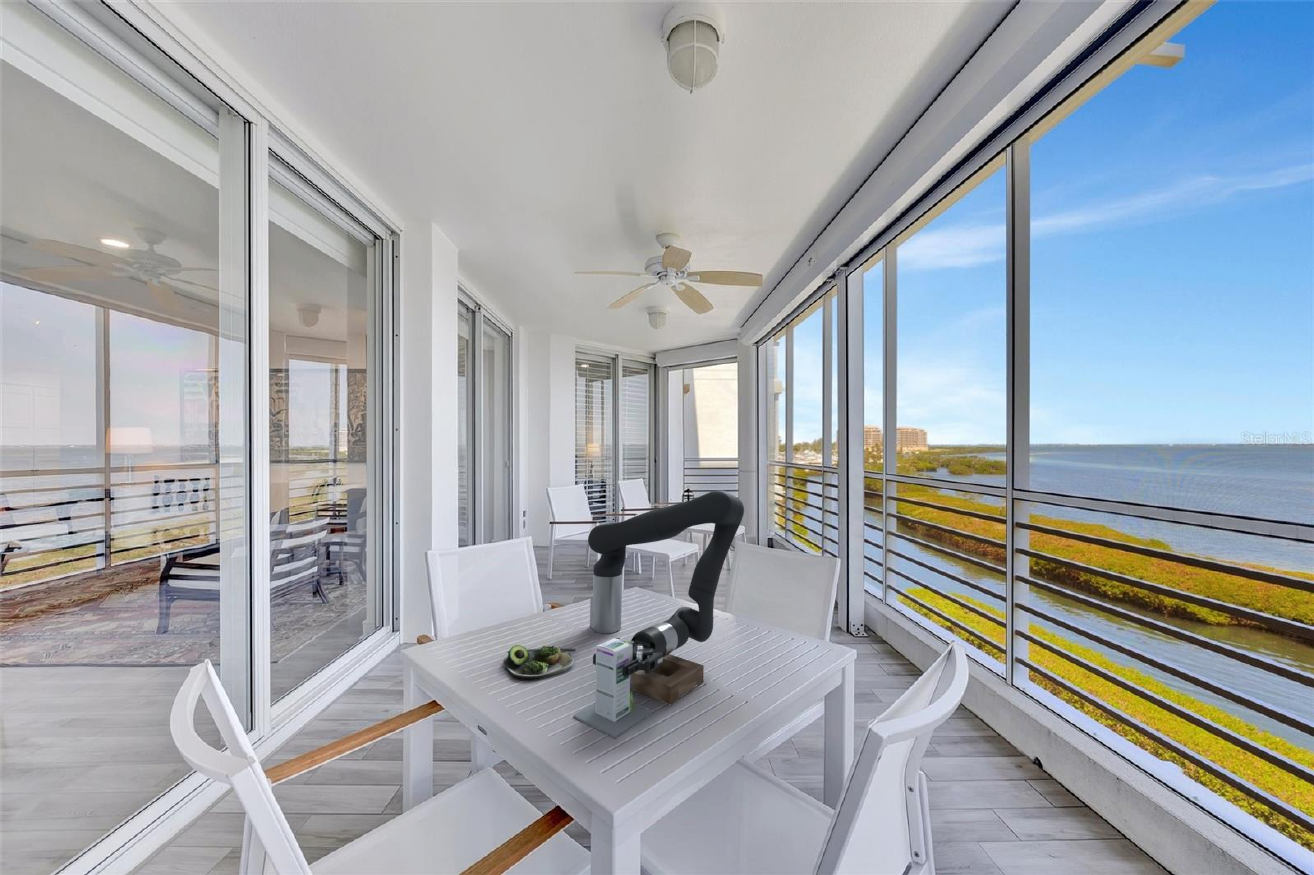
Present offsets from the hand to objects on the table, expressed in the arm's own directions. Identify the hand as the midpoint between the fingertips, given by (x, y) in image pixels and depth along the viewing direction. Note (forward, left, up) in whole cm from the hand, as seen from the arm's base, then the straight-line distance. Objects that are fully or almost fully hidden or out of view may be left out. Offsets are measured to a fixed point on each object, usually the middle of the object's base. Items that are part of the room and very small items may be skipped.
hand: (608, 665), depth 101 cm
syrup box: (0, +2, -11) cm, 11 cm away
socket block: (0, +20, -11) cm, 23 cm away
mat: (0, +2, -11) cm, 11 cm away
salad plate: (-32, +7, -12) cm, 35 cm away
